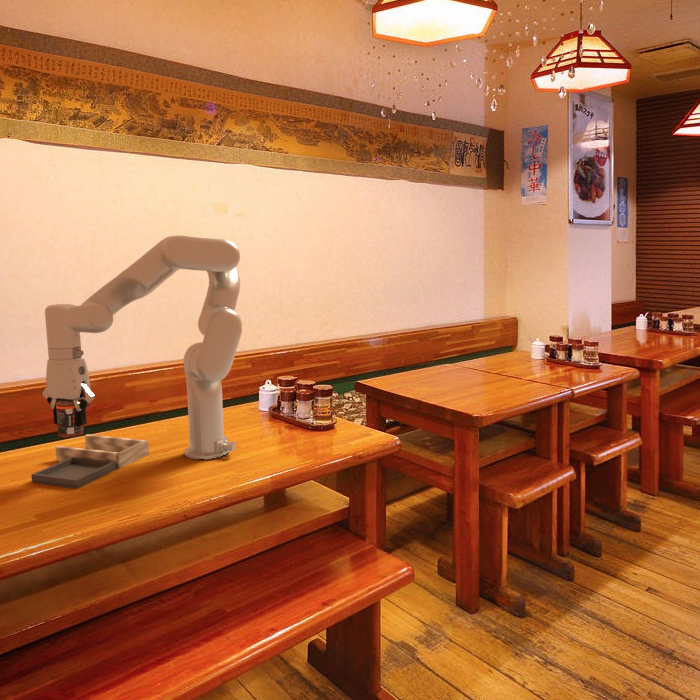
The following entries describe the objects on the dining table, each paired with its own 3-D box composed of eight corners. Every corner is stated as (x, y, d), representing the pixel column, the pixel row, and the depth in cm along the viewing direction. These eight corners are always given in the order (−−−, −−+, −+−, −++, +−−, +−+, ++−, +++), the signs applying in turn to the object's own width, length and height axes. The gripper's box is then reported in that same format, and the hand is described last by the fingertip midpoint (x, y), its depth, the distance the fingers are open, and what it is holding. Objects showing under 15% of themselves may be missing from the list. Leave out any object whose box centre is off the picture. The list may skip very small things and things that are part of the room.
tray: (116, 469, 163) (115, 461, 162) (77, 488, 150) (76, 480, 149) (73, 464, 167) (72, 456, 167) (32, 482, 154) (31, 474, 154)
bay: (148, 454, 175) (148, 440, 174) (119, 468, 163) (118, 454, 163) (88, 447, 182) (87, 434, 181) (56, 460, 170) (55, 446, 169)
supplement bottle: (77, 438, 154) (74, 394, 152) (53, 438, 154) (50, 394, 152) (87, 432, 160) (84, 389, 158) (65, 432, 160) (61, 389, 158)
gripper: (103, 353, 154) (108, 423, 157) (49, 350, 160) (54, 417, 162) (82, 358, 147) (87, 431, 150) (25, 354, 153) (31, 425, 155)
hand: (70, 423), depth 156 cm, fingers closed on supplement bottle, 6 cm apart
